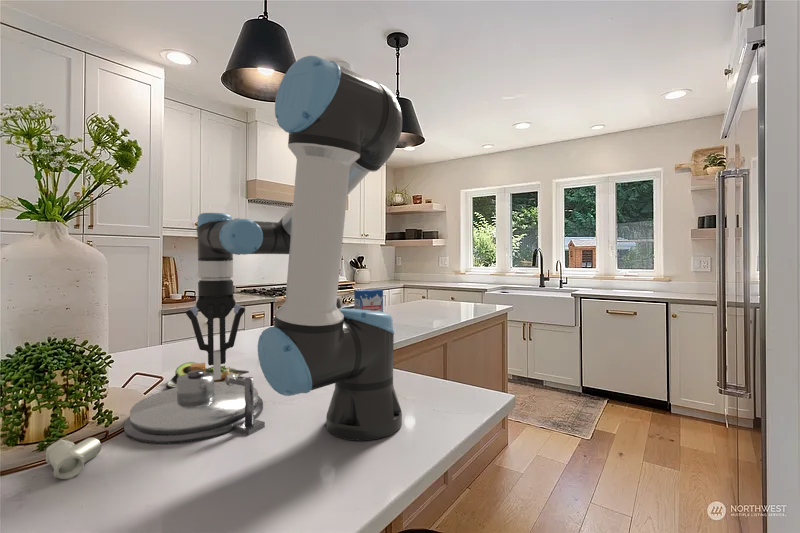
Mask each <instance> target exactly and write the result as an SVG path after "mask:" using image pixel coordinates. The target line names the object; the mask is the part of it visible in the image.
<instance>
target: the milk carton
mask: <svg viewBox="0 0 800 533" xmlns="http://www.w3.org/2000/svg"><path fill="white" fill-rule="evenodd" d="M353 291H354V296H353V297H354V299H353V302H354V304H353V309H360V310H371V311H380V312H384V290H383V289H378V288H373V289H372V288H369V289H354V290H353Z"/></svg>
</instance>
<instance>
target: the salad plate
mask: <svg viewBox="0 0 800 533" xmlns="http://www.w3.org/2000/svg"><path fill="white" fill-rule="evenodd" d="M196 363H197V362H195V361H190V362H184V363H182V364H180V365H179V366H178V367H176V369H175V372H174V373H175V374H174V376H172V378H171V379H170V380H169V381H168V383H166V388H167V390H169V389H172V388H176V387H177V378H178V377H180V376H182V375H185V374H188V372H190V371H191V364H196ZM205 372H211V373H213V374H214V368H213V366H211V367H208V368H206V367H205ZM231 373H233V374H235V376H236V377H237V378H240V376H242V375H244V374H248V373H250V371H249V370H242V369H237V368H234V367H230V366H228V367H226V365H221V379H218V380H214V382H225V377H226V375H228V374H231Z"/></svg>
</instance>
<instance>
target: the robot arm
mask: <svg viewBox="0 0 800 533" xmlns="http://www.w3.org/2000/svg"><path fill="white" fill-rule="evenodd" d="M274 115H275V118H276V122H277V125H278V126H279V127H280V128H281V129H282V130H283V131H284V132H285V133H288V141H287V147H288V149H289V150H290V151H291V153H292V154H293V155H294V157H295V158H296V164H295V165H296V166H295V177H294V191H293V201H292V202H293V203H292V205H291V206H290V208H289V209H288V210H287V212H286V213H285V214H284V215H283V216H282V218H281V219H280V220H279V221H278V222H276V221H275V222H273V221H258V220H251V219H248V218H234V219H233V218H232V216H231V215H230V214H229V213H223V212H201V213H200V214H199V215H198V216H197V226H196V232H197V233H196V234H197V236H196V237H197V277H198V278H199V279H200V280H199V281H198V282H197V285H198V286H197V288H198V289H197V290H198V299H197V300H196V303H195V305H194V306H192V307H191V308H189V309H186V311H185V314H186V316H187V317H188V318H189V320H190V321H191V325H192V328H193V331H194V336H195V339H196V342H197V346H198V349H199V350H200V351H205V352H207V364H208V366H212V367H213V368H214V380H218V379H221V366H222V365H225V364H226V362H227V361H226V360H227V359H226V358H227V357H226V354H227V353H226V352H227V350H228V349H230V348H231V349H232V348H233V347H234V346H235V343H236V342H235V341H236V338H237V334H238V330H239V325H240V322H241V317H242V315H244V313H245V311H246V309H245V307H244V306H241V305H239V304H238V303H237V302H236V300H235V298H234V280H232V279H231V278H233V277H234V258H233V256H234V255H237V256H238V255H239V256H240V255H243V256H245V255H288V265H287V275H286V276H287V277H286V278H287V279H286V290H285V291H286V292H285V300H284V301H285V302H284V303H283V304H282V305H281V306H280V307H278V309H276V310H275V312H274V322H273V323H274V324H273V326H269V327H268V328H265V329H264V330H262V332H261V334H260V335H259V336H258V341H257V357H258V362H259V366H260V369H261V371H262V374H263V377H264V378H265V380H266V381H267V383H268V385H269V386H270V388H272V390H274V391H275V392H276V393H278V394H280V395H282V396H284V397H292V396H295V395H300V394H308V393H310V392H311V391H314V390H317V389H320V388H323V387H326V386H331V385H333V384H334V389H333V393H332V396H331V400H330V403H329V405H328V406H329V407H328V409H327V412H326V429H327V431H328V432H329V433H330V434H332V435H333V436H335V437H337V438H341V439H344V440H349V441H350V440H351V441H370V440H371V441H372V440H373V441H374V440H377V439H382V438H383V439H384V438H386V437H388V436H391V435H393V434H395V433H396V432H398V431H399V430H400V429H401V427H402V424H403V414H402V408H401V405H400V402H399V399H398V395H397V393H396V389H395V386H394V335H395V332H394V322H393V318H392V316H391V314H389V313H387V312H384V311H383V312H380V311H371V310H360V309H354V308H342V309H338V308H337V306H336V303H337V298H338V292H339V283H340V282H339V281H340V274H341V273H340V271H341V261H342V260H341V259H342V252H343V251H342V249H343V239H344V231H345V221H346V220H345V219H346V212H347V210H346V208H347V200H348V195H349V194H350V193H351V192H352V191H353V190H354V189H355V188H356V187H357V186H358V184H360V182H362V180H363V179H364V178H365V177H366V176H367V175H368V174H369V173H370V172H373V173H374V172H377V171H379V170H380V169H381V167H382V166H383V165H385V163H386V162H387V161H388V160H389V159H390V157H392V155H393V153H394V152H395V150H396V148H397V146H398V144H399V142H400V138H401V134H402V130H403V114H402V110H401V106H400V104H399V102H398V99H397V98H396V96H395V94H393V92H392V91H391V90H390V89H389V88H387V86H385V85H384V84H381V83H380V82H378V81H376V80H372V79H369V78H368V77H365V76H363V75H361V74H359V73H356V72H354V71H352V70H350V69H348V68H346V67H345V66H341V65H339V64H338V63H337V62H335V61H333V60H327V59H325V58H324V59H323V58H321V57H319V56H316V55H306V56H303V57H301V58H299V59H297V60H296V61H295V62H293V63H292V64H291V66H290V67H289V68H288V70H287V71H286V72H285V74H284V75H283V77H282V79H281V81H280V83H279V85H278V89H277V93H276V96H275V102H274ZM233 309H234V310H233ZM232 310H233V313H234V318H233V321H232V324H231V330H230V333H229V337H228V341H227V340H226V318H227V317H228V315H229V314H230V313H231V312H232ZM198 311H199V312H200V313H201V314H202V315H203V316H204V317H205V318H206V319H207V343H205V340H204V337H203V334H202V329H201V327H200V322H199V320H198V317H197V316H198V314H199V312H198ZM214 319H219V349H214V347H215V346H214ZM226 341H227V342H226Z"/></svg>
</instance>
